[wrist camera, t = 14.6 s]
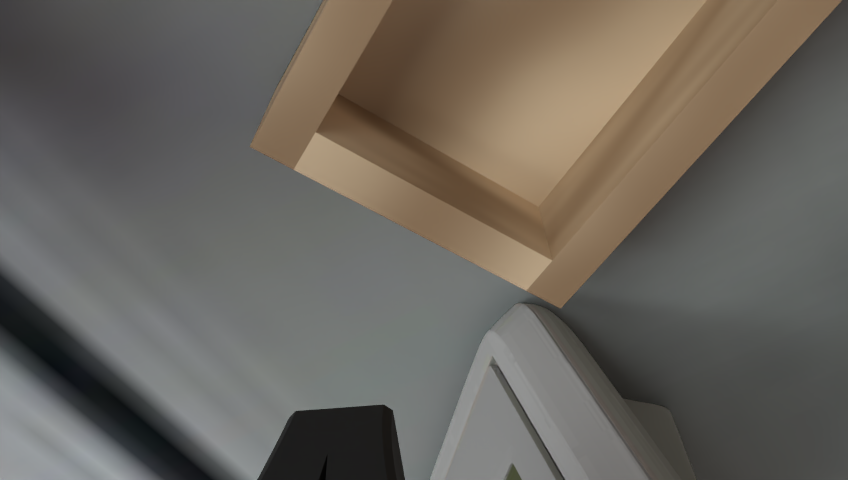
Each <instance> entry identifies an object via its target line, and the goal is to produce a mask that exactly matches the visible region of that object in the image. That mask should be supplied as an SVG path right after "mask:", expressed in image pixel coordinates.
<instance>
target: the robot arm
mask: <svg viewBox="0 0 848 480" xmlns="http://www.w3.org/2000/svg"><path fill="white" fill-rule="evenodd" d="M257 480H405V477H404V472H403V466H402V460H401V455H400V449H399V443H398V437H397V432H396V426H395V420H394V415H393V410H391V409H390V408H388V407H387V406H385V405H373V406H359V407H346V408H332V409H319V410H305V411H296V412H295V413H294V414H293V415H292V416H291V417H290V418H289V419H288V421H287V423H286V425H285V428H284V430H283V432H282V434H281V436H280V438H279V440H278V442H277V443H276V445H275V447H274V449H273V451H272V453H271V455H270V457H269V459H268V461H267V463H266V465H265V466H264V468H263V470H262V472H261V474H260V476H259V477H258V479H257Z"/></svg>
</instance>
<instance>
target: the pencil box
mask: <svg viewBox="0 0 848 480" xmlns="http://www.w3.org/2000/svg"><path fill="white" fill-rule="evenodd" d="M841 1H842V0H323V2H322V4H321V6H320V7H319V9H318V11H317V13H316V15H315V17H314V19H313V21H312V22H311V24H310V26H309V28H308V30H307V32H306V34H305V35H304V37H303V39H302V41H301V43H300V45H299V47H298V48H297V50H296V52H295V54H294V56H293V58H292V60H291V62H290V63H289V65H288V67H287V69H286V71H285V73H284V75H283V76H282V78H281V80H280V82H279V84H278V86H277V88H276V90H275V92H274V94H273V96H272V98H271V101H270V103H269V105H268V107H267V110H266V112H265V114H264V116H263V118H262V121H261V123H260V125H259V127H258V129H257V132H256V134H255V136H254V138H253V140H252V143H251V145H250V147H251V148H253V149H255V150H257V151H259V152H261V153H263V154H264V155H266V156H268V157H270V158H272V159H274V160H276V161H278V162H280V163H282V164H284V165H286V166H287V167H289V168H291V169H293V170H295V171H297V172H299V173H301V174H303V175H305V176H307V177H309V178H311V179H312V180H314V181H316V182H318V183H320V184H322V185H324V186H326V187H328V188H330V189H332V190H334V191H336V192H337V193H339V194H341V195H343V196H345V197H347V198H349V199H351V200H353V201H355V202H357V203H359V204H360V205H362V206H364V207H366V208H368V209H370V210H372V211H374V212H376V213H378V214H380V215H382V216H384V217H385V218H387V219H389V220H391V221H393V222H395V223H397V224H399V225H401V226H403V227H405V228H407V229H409V230H410V231H412V232H414V233H416V234H418V235H420V236H422V237H424V238H426V239H428V240H430V241H432V242H433V243H435V244H437V245H439V246H441V247H443V248H445V249H447V250H449V251H451V252H453V253H455V254H457V255H458V256H460V257H462V258H464V259H466V260H468V261H470V262H472V263H474V264H476V265H478V266H480V267H482V268H483V269H485V270H487V271H489V272H491V273H493V274H495V275H497V276H499V277H501V278H503V279H505V280H506V281H508V282H510V283H512V284H514V285H516V286H518V287H520V288H522V289H524V290H526V291H528V292H530V293H531V294H533V295H535V296H537V297H539V298H541V299H543V300H545V301H547V302H549V303H551V304H553V305H555V306H556V307H558V308H560V309H561V308H562V307H563V306H564V304H565V303H566V302H567V301H568V300H569V299H570V298H571V297H572V296H573V295H574V293H575V292H576V291H577V290H578V289H579V288H580V287H581V286H582V285H583V284H584V283H585V281H586V280H587V279H588V278H589V277H590V276H591V275H592V274H593V273H594V272H595V270H596V269H597V268H598V267H599V266H600V265H601V264H602V263H603V262H604V261H605V260H606V258H607V257H608V256H609V255H610V254H611V253H612V252H613V251H614V250H615V249H616V247H617V246H618V245H619V244H620V243H621V242H622V241H623V240H624V239H625V238H626V236H627V235H628V234H629V233H630V232H631V231H632V230H633V229H634V228H635V227H636V226H637V224H638V223H639V222H640V221H641V220H642V219H643V218H644V217H645V216H646V215H647V213H648V212H649V211H650V210H651V209H652V208H653V207H654V206H655V205H656V204H657V203H658V201H659V200H660V199H661V198H662V197H663V196H664V195H665V194H666V193H667V192H668V190H669V189H670V188H671V187H672V186H673V185H674V184H675V183H676V182H677V181H678V180H679V178H680V177H681V176H682V175H683V174H684V173H685V172H686V171H687V170H688V169H689V167H690V166H691V165H692V164H693V163H694V162H695V161H696V160H697V159H698V158H699V157H700V155H701V154H702V153H703V152H704V151H705V150H706V149H707V148H708V147H709V146H710V144H711V143H712V142H713V141H714V140H715V139H716V138H717V137H718V136H719V135H720V134H721V132H722V131H723V130H724V129H725V128H726V127H727V126H728V125H729V124H730V123H731V121H732V120H733V119H734V118H735V117H736V116H737V115H738V114H739V113H740V112H741V110H742V109H743V108H744V107H745V106H746V105H747V104H748V103H749V102H750V101H751V100H752V98H753V97H754V96H755V95H756V94H757V93H758V92H759V91H760V90H761V89H762V87H763V86H764V85H765V84H766V83H767V82H768V81H769V80H770V79H771V78H772V77H773V75H774V74H775V73H776V72H777V71H778V70H779V69H780V68H781V67H782V66H783V64H784V63H785V62H786V61H787V60H788V59H789V58H790V57H791V56H792V55H793V54H794V52H795V51H796V50H797V49H798V48H799V47H800V46H801V45H802V44H803V43H804V41H805V40H806V39H807V38H808V37H809V36H810V35H811V34H812V33H813V32H814V31H815V29H816V28H817V27H818V26H819V25H820V24H821V23H822V22H823V21H824V20H825V18H826V17H827V16H828V15H829V14H830V13H831V12H832V11H833V10H834V9H835V8H836V6H837V5H838V4H839V3H840V2H841Z"/></svg>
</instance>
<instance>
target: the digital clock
mask: <svg viewBox="0 0 848 480" xmlns="http://www.w3.org/2000/svg"><path fill="white" fill-rule="evenodd" d="M430 480H697V479H696V477H695V474H694V471H693V469H692V466H691V463H690V461H689V458H688V456H687V453H686V450H685V448H684V445H683V443H682V440H681V437H680V435H679V432H678V430H677V427H676V424H675V422H674V419H673V417H672V414H671V412H670V411H669V410H668V409H667V408H665V407H662V406H660V405H655V404H650V403H645V402H639V401H633V400H628V399H622V397H621V396H620V394H619V393H618V392H617V390H616V389H615V388H614V386H613V385H612V383H611V382H610V381H609V379H608V378H607V377H606V375H605V374H604V372H603V371H602V370H601V368H600V367H599V366H598V364H597V363H596V361H595V360H594V359H593V357H592V356H591V355H590V353H589V352H588V350H587V349H586V348H585V346H584V345H583V344H582V343H581V341H580V340H579V339H578V338H577V336H576V335H575V334H574V333H573V331H572V330H571V329H570V328H569V327H568V326H567V325H566V324H565V323H564V322H563V321H562V320H561V319H560V318H558V317H557V316H556V315H555V314H553V313H552V312H551V311H549V310H548V309H547V308H544V307H541V306H539V305H535V304H528V303H517V304H516V305H514V306H513V307H512V308H510V309H509V310H508V311H507V312H506V313H505V314H504V315H503V316H502V317H501V318H500V319H499V320H498V321H497V322H496V323H495V324H494V325H493V327H492V328H491V329H490V330H489V331H488V332H487V333H486V334H485V336H484V337H483V339H482V341H481V344H480V346H479V348H478V351H477V353H476V356H475V358H474V361H473V363H472V366H471V368H470V371H469V374H468V376H467V379H466V382H465V384H464V387H463V390H462V393H461V395H460V398H459V401H458V403H457V406H456V409H455V412H454V414H453V417H452V420H451V423H450V425H449V428H448V431H447V434H446V436H445V439H444V442H443V445H442V447H441V450H440V453H439V456H438V458H437V461H436V464H435V467H434V469H433V472H432V475H431V478H430Z"/></svg>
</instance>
